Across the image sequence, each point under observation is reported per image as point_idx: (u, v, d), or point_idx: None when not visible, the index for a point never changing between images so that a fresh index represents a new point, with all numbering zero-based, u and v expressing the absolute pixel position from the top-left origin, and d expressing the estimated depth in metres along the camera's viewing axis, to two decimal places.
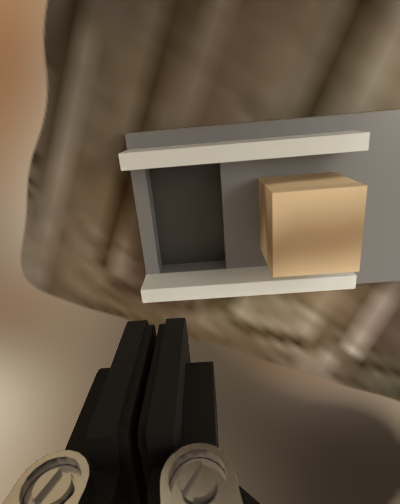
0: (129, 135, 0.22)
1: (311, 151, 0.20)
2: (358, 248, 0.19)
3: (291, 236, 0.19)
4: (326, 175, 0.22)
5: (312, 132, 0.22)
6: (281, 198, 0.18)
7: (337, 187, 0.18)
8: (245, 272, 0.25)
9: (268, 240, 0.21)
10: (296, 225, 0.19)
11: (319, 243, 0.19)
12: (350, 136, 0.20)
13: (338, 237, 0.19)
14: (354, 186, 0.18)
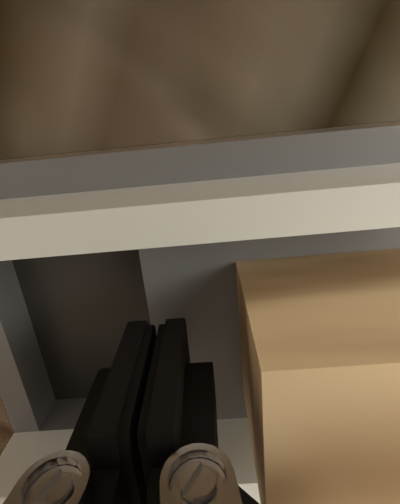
0: None
1: (343, 222, 0.08)
2: None
3: (317, 469, 0.07)
4: (390, 265, 0.09)
5: (338, 165, 0.10)
6: (289, 384, 0.06)
7: None
8: None
9: (256, 438, 0.08)
10: (334, 447, 0.07)
11: (393, 485, 0.07)
12: None
13: None
14: None
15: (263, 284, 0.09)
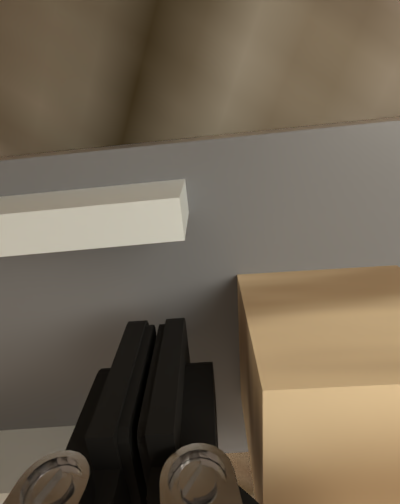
0: None
1: (43, 244, 0.08)
2: None
3: (313, 482, 0.07)
4: (386, 283, 0.10)
5: (98, 184, 0.10)
6: (288, 403, 0.06)
7: None
8: (15, 449, 0.13)
9: (254, 450, 0.09)
10: (329, 462, 0.07)
11: (386, 498, 0.07)
12: (131, 208, 0.08)
13: None
14: None
15: (264, 299, 0.09)
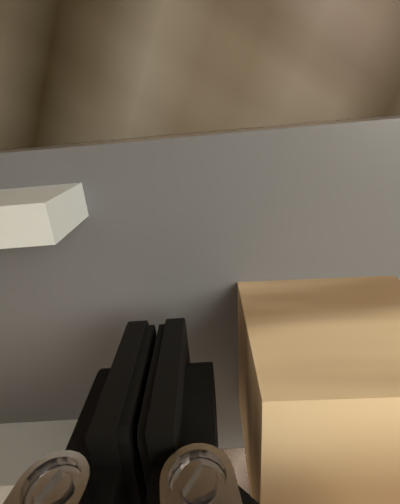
0: None
1: None
2: None
3: (309, 490, 0.07)
4: (384, 294, 0.10)
5: None
6: (287, 413, 0.07)
7: None
8: None
9: (251, 456, 0.09)
10: (325, 470, 0.07)
11: None
12: None
13: None
14: None
15: (264, 308, 0.09)
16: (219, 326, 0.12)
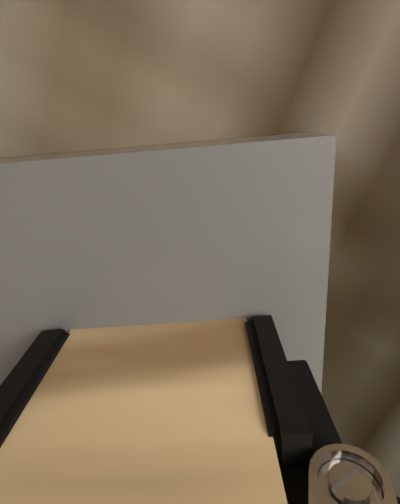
0: None
1: None
2: None
3: None
4: (216, 346, 0.09)
5: None
6: None
7: (184, 500, 0.05)
8: None
9: None
10: None
11: None
12: None
13: None
14: (243, 500, 0.05)
15: (68, 369, 0.08)
16: None
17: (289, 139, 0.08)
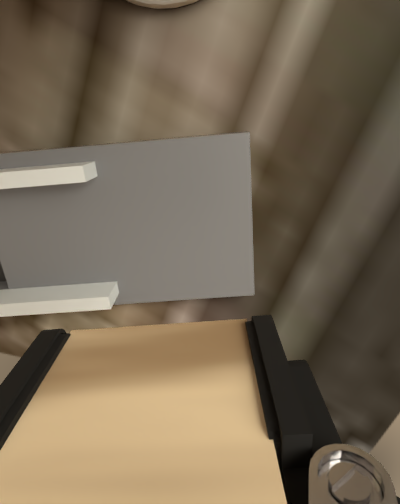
0: None
1: (33, 183, 0.21)
2: None
3: None
4: (216, 346, 0.09)
5: (58, 163, 0.23)
6: None
7: (184, 500, 0.05)
8: (19, 293, 0.26)
9: None
10: None
11: None
12: (65, 169, 0.21)
13: None
14: (243, 500, 0.05)
15: (69, 369, 0.08)
16: (157, 230, 0.25)
17: (233, 133, 0.23)
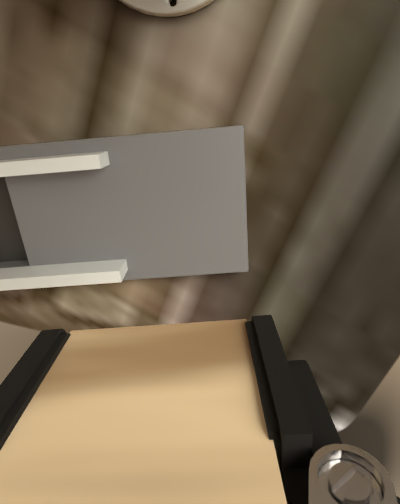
0: None
1: (55, 169, 0.25)
2: None
3: None
4: (216, 347, 0.09)
5: (75, 152, 0.26)
6: None
7: (184, 501, 0.05)
8: (39, 269, 0.29)
9: None
10: None
11: None
12: (83, 157, 0.24)
13: None
14: (243, 502, 0.05)
15: (69, 370, 0.08)
16: (162, 213, 0.28)
17: (229, 126, 0.26)
